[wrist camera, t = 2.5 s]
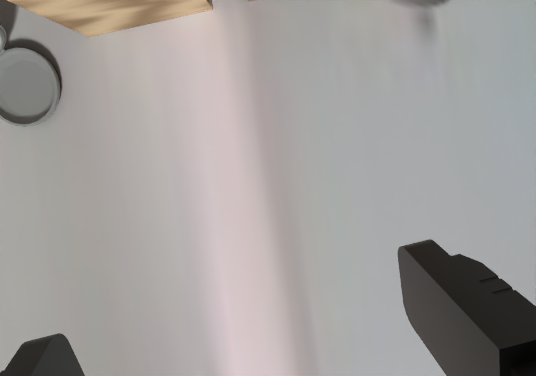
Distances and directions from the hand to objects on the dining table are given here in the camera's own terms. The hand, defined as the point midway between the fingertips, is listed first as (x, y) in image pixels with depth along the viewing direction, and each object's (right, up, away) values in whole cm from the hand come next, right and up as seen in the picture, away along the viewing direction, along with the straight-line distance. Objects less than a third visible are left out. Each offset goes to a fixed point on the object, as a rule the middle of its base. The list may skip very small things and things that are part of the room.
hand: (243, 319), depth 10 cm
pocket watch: (-21, +13, +27) cm, 36 cm away
